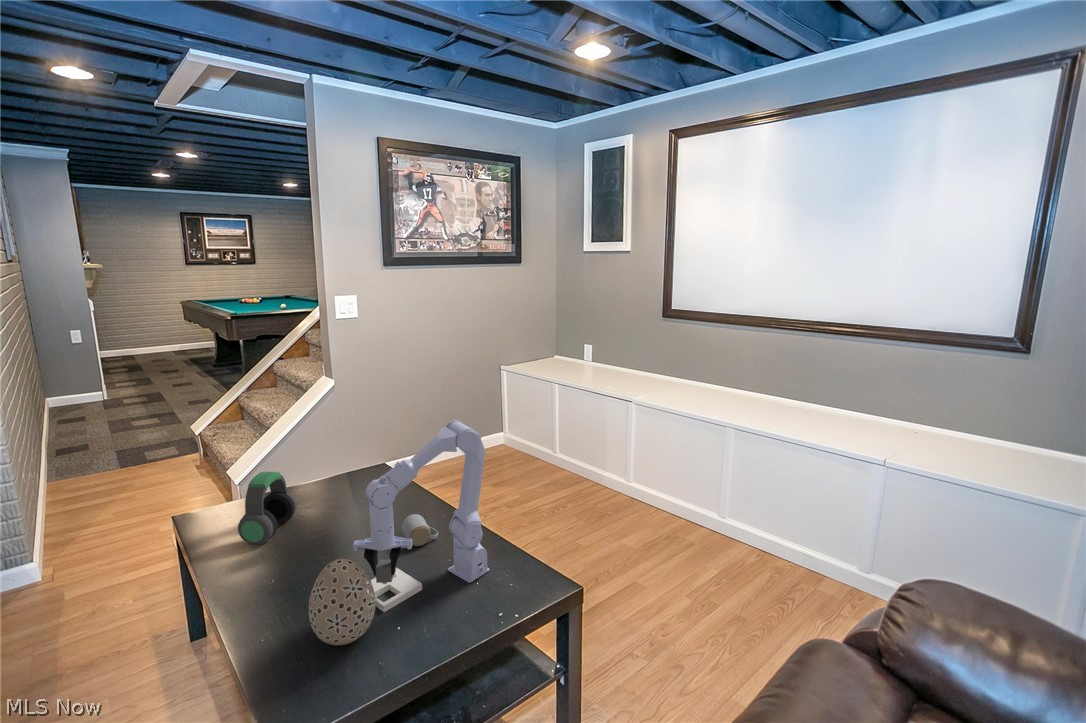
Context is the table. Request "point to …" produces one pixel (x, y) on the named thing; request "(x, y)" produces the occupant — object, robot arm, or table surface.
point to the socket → (395, 589)
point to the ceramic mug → (418, 530)
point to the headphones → (265, 508)
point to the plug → (383, 572)
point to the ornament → (341, 603)
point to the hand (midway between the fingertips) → (385, 573)
